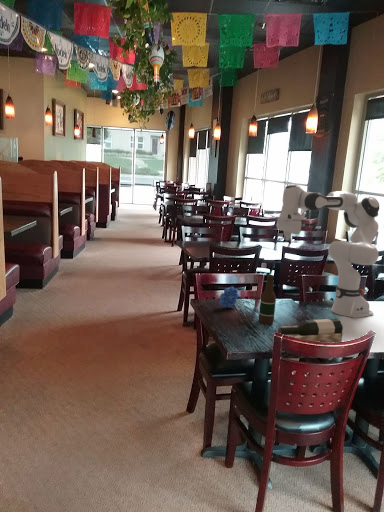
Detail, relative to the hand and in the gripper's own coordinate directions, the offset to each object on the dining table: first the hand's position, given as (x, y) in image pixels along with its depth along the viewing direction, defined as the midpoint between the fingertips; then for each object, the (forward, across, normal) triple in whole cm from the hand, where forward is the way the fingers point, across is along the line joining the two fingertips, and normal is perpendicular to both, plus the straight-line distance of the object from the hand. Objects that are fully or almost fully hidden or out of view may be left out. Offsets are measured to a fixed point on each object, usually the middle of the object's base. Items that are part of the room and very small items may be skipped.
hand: (286, 239), depth 233 cm
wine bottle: (+33, +48, +3) cm, 58 cm away
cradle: (+37, +48, -10) cm, 62 cm away
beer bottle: (+37, +26, -22) cm, 50 cm away
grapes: (+37, +2, -33) cm, 50 cm away
